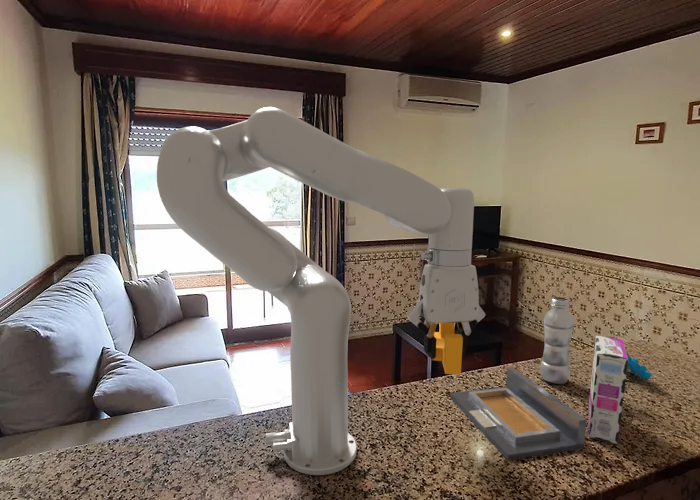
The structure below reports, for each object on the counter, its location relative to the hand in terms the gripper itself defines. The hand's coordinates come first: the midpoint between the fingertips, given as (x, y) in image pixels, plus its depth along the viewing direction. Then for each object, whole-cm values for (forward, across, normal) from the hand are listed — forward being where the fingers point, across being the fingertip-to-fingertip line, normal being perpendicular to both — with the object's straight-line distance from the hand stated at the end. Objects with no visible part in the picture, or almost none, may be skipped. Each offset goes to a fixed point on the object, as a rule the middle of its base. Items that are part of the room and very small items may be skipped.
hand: (445, 353), depth 79 cm
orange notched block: (+1, 0, 0) cm, 1 cm away
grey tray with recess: (+15, +14, 0) cm, 21 cm away
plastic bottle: (+15, +34, +13) cm, 40 cm away
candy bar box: (+15, +30, -6) cm, 34 cm away
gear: (+15, +53, +11) cm, 56 cm away
